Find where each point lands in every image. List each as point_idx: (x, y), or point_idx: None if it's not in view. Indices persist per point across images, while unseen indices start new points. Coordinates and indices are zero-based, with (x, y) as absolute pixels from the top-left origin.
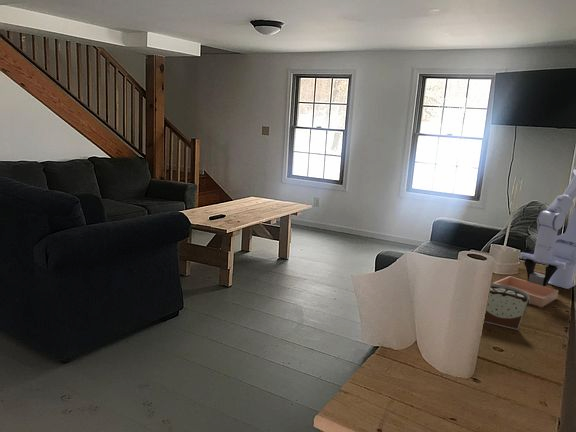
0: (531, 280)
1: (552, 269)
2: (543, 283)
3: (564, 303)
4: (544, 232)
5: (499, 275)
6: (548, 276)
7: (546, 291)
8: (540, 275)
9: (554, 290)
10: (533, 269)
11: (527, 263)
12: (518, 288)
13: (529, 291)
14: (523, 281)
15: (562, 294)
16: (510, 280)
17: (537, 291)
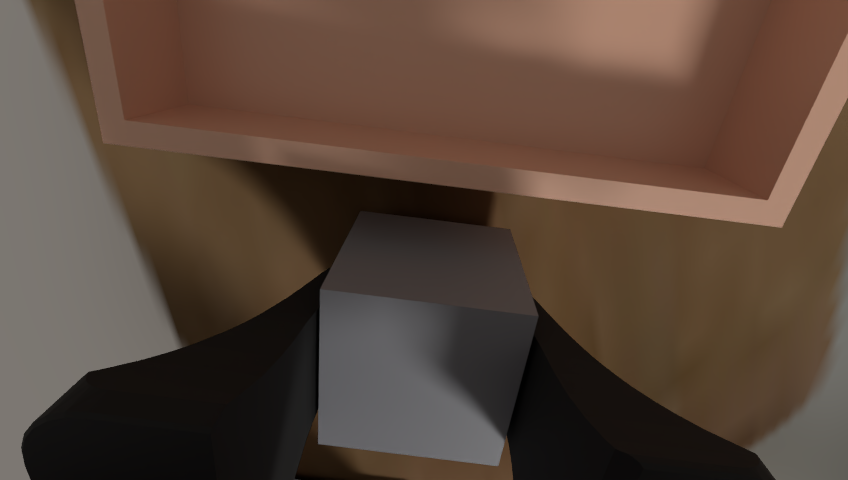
0: (485, 264)
1: (58, 403)
2: None
3: (58, 27)
4: None
5: (798, 399)
6: (242, 324)
7: (264, 122)
8: (392, 371)
9: (149, 120)
10: (520, 474)
11: (700, 457)
12: (587, 78)
13: (454, 81)
14: (572, 171)
15: (215, 324)
16: (727, 181)
17: (374, 129)
